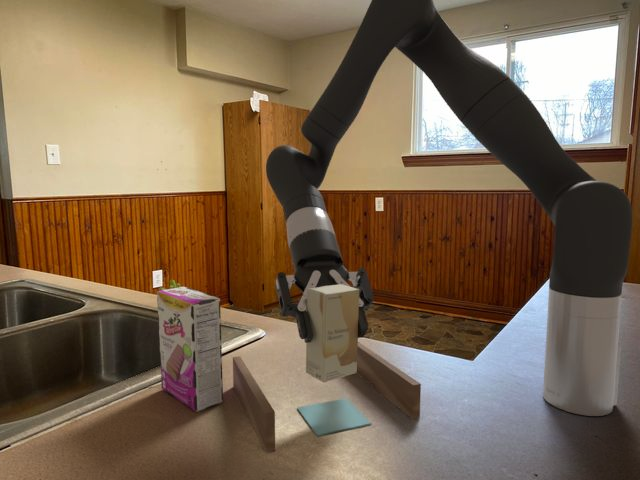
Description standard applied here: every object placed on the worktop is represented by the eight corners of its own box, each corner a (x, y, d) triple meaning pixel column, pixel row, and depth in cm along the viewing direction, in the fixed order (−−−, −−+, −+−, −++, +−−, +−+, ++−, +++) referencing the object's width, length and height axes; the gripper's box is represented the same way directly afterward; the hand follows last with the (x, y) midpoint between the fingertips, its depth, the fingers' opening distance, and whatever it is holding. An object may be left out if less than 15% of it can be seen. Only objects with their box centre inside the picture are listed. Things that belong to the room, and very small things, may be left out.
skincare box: (323, 384, 59) (324, 294, 58) (304, 373, 63) (304, 288, 61) (359, 372, 63) (360, 287, 62) (339, 363, 67) (340, 282, 65)
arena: (355, 366, 81) (356, 340, 81) (419, 417, 63) (420, 383, 63) (233, 386, 73) (232, 357, 73) (265, 452, 55) (265, 413, 54)
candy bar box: (159, 390, 72) (155, 290, 70) (187, 381, 75) (184, 285, 73) (195, 415, 64) (191, 302, 62) (224, 403, 67) (222, 296, 66)
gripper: (271, 228, 66) (289, 329, 56) (361, 226, 70) (393, 320, 60) (264, 258, 71) (280, 355, 62) (349, 255, 76) (376, 345, 66)
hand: (336, 337), depth 61 cm, fingers closed on skincare box, 7 cm apart
